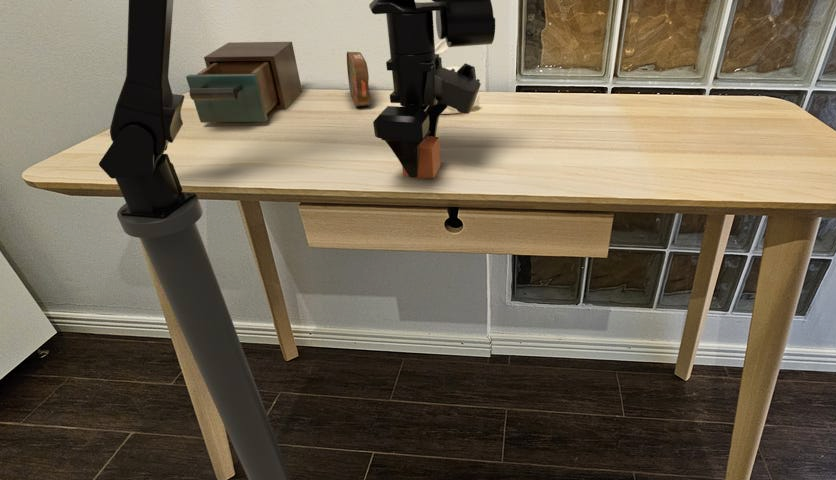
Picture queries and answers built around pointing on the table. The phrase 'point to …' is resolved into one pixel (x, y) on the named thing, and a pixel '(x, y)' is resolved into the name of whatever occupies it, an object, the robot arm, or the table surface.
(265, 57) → the cabinet
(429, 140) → the block
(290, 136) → the table surface
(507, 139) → the table surface
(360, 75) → the tin
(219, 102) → the drawer
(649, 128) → the table surface
